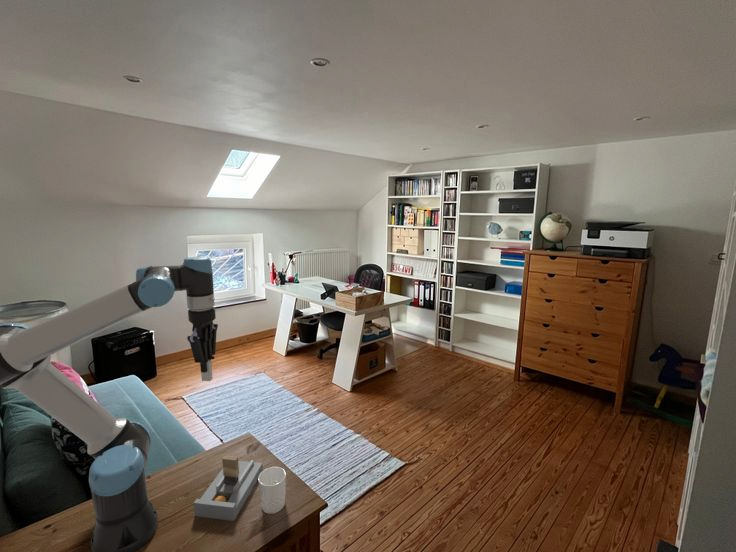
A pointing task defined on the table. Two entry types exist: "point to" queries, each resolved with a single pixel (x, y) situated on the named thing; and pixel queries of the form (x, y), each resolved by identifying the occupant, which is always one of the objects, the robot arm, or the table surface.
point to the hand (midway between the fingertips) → (207, 379)
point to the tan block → (230, 469)
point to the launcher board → (228, 493)
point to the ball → (220, 499)
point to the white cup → (272, 489)
